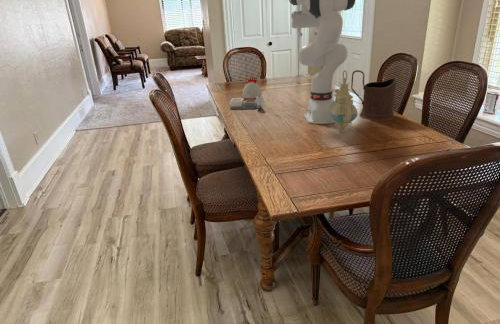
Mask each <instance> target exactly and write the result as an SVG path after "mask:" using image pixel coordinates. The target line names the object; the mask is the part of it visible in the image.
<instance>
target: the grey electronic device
mask: <svg viewBox="0 0 500 324" xmlns="http://www.w3.org/2000/svg"><path fill="white" fill-rule="evenodd" d="M254 101H255V102H254ZM229 109H230V110H256V100H244V99H243V98H242V97H237V98H235V97H233V98H231V100H230V107H229Z"/></svg>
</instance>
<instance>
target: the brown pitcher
mask: <svg viewBox="0 0 500 324" xmlns="http://www.w3.org/2000/svg"><path fill="white" fill-rule="evenodd" d="M355 73H361V74H362V86H363V87H362V88H363V89H362V90H363V98H362V97H361V96H360V95H359V94H358V93H357V91H356V90H354V88H353V86H354V85H353V83H354V74H355ZM396 86H397V78H390V79H388V80H384V81H373V82H372V81H371V82H368V83H365V73H364V72H363V71H362V70H357V69H356V70H354V71H352V74H351V85H350V87H351V91H352V92H353V93H354V94H355V95H356V97H358V99H359V100H361V105H362V109H361V111H360V113H359V114H358V115H359V117H360V118H362V119H364V120H369V121H377V122H380V121H381V122H383V121H385V122H386V121H390V120H393V119H394V118H395V115H394V111H393V109H394V101H395V96H396V95H395V94H396Z"/></svg>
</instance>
